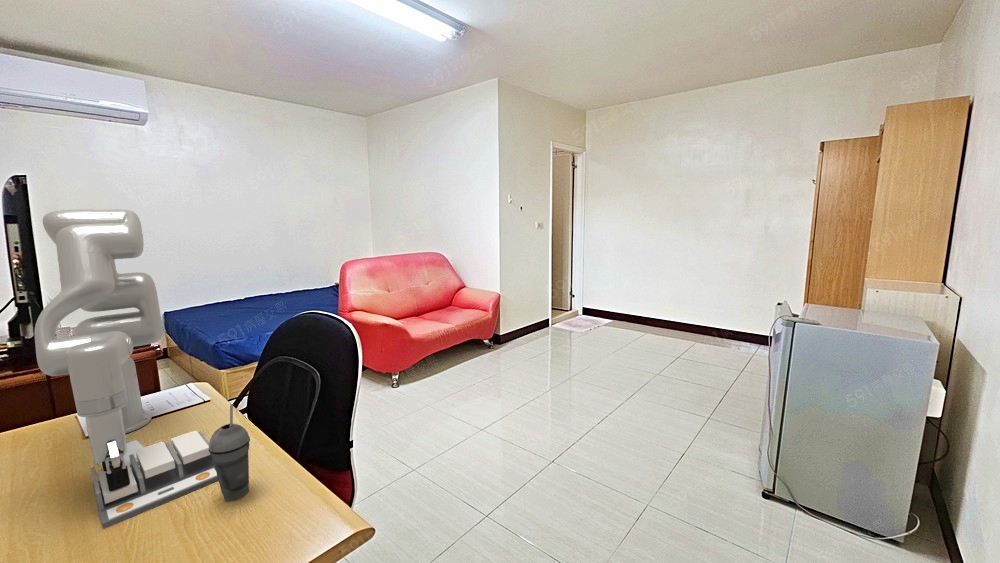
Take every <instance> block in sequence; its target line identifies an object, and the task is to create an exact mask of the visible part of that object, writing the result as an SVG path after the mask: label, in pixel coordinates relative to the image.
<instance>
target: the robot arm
mask: <svg viewBox="0 0 1000 563" xmlns="http://www.w3.org/2000/svg"><path fill="white" fill-rule="evenodd" d="M42 226H43V229H44V230H45V232H46V234H47V235H48V237H49V238H50V239H51V241H52V242H53V243H54V244H55V245H56V253H57V254H56V255H57V262H58V271H59V281H60V292H58V294H57V295H56V296H55V297H54V298H53V299H51V301H49V302H48V304H46V306H45V307H44V308H43V309H42V310H41V312H40V313H39V315H38V317H37V320H36V322H35V326H34V344H35V345H34V346H35V355H36V362H37V366H38V368H39V369H40V370H39V371H41V372H42V373H43V374H45V375H47V376H50V377H51V376H52V377H57V376H64V375H69V379H70V385H71V390H72V393H73V394H72V395H73V399H74V403H75V408H76V412H77V416H78V417H81V418H85V425H86V430H87V435H88V441H89V445H90V446H89V447H90V450H91V455H92V459H93V462H94V463H95V464H96V465H99V464H100V462H102V466H103V469H102V470H103V471H107V473H106V478H107V483H108V488H109V491H114V490H116V489H119V488H122V487H124V486H127V485H129V484H130V479H129V474H128V468H127V466H126V465H125V461H124V457H123V455H125V454H126V453H127V447H126V443H127V438H126V434H128V433H131V432H134V431H136V430H138V429H140V428H143V427H145V426H146V425H148V424H149V423H150V421H151V420H152V414H151V413H150V412H146V411H144V409H143V403H142V398H141V397H142V396H141V392H140V386H139V380H138V375H137V370H136V369H137V368H136V363H135V361H134V359H133V358H132V357H131V356H132V354H133V352H134V347H140V346H146V345H151V344H155V343H157V342H159V341H160V340H162V338H163V335H164V334H163V333H164V329H163V321H162V314H161V310H160V303H159V297H158V292H157V286H156V283H155V281H154V279H153V277H152V276H151V275H150V274H148V273H146V272H126V273H123V272H122V273H119V272H117V266H116V262H115V260H120V259H121V260H123V259H136V258H138V257H140V256H142V254H143V252H144V248H145V247H144V245H145V244H144V235H143V234H144V233H143V228H142V224H141V220H140V217H139V216H138V214H137V213H136V212H134V211H133V210H130V209H129V210H128V209H62V210H54V211H50V212H47V213H46V214H44V216H42ZM133 308H134V309H137V310H138V311H131V312H124V313H123V312H122V313H115V314H106V315H99V316H93V317H89V318H86V319H84V320H82V321H80V322H79V323H78V324H77V325H76V327H75V329H74V335H75V336H69V337H61V338H56V333H57V332H56V331H57V328H58V325H59V324H60V323H61V321H62V320H64V319H65V318H66V317H67V316H68V315H70V314H71V313H73V312H75V311H77V310H79V309H81V310H83V311H85V312H90V313H93V312H94V313H98V312H109V311H117V310H125V309H126V310H127V309H133Z"/></svg>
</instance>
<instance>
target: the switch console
mask: <svg viewBox="0 0 1000 563" xmlns="http://www.w3.org/2000/svg"><path fill="white" fill-rule="evenodd" d="M197 432H198V433H199V434H200V436H201V437H202V438H203V440H204V441H205V442H206V443H207V445H208V446H209V443H210V441H209V440H208V439H207V438H206V437H205V435H204V434H203V433H202V431H197ZM164 443H165V445H166V447H167V449H168V450H169V452H170V454H171V456H172V457H173V459H174V462H175V468H173V469H171V470H168V471H165V472H163V473H160V474H157V475H154V476H152V477H149V478H145V476H144V474H143V471H142V469H141V467H140V465H138V464H137V462H136V459H135V457H134V455H133V454H131V455H129V457H130V463H131V470H132V473H133V476H134V478H135V481H136V483H137V488H138V492H135V493H132V494H130V495H127V496H125V497H122V498H119V499H117V500H114V501H112V502H109V503H106V504H105V501H104V497H103V494H102V490H101V486H100V482H99V479H98V477H97V476H98V475H97V472H96V469H95V466H92V467H90V473H91V478H92V482H93V483H92V486H93V490H94V495H95V499H96V503H97V508H98V512H99V517H100V522H101V526H102V529H103V528H104V529H105V527H106V528H108V527H110V526H114V525H115V524H117V523H120V522H123V521H125V520H127V519H130V518H132V517H134V516H137V515H139V514H142V513H144V512H147V511H149V510H152V509H154V508H157V507H159V506H161V505H164V504H165V503H168V502H171V501H173V500H175V499H177V498H180V497H183V496H185V495H187V494H190V493H193V492H194V491H197V490H200V489H202V488H204V487H207V486H209V485H211V484H214V483H216V482H219V480H218V476H217V472H216V469H215V465H214V461H213V459H212V457H211V455H208V456H205V457H203V458H200V459H197V460H195V461H192V462H189V463H187V464H183V462H182V461H181V459H180V457H179V456H178V454H177V453H176V451H175V449H174V448H173V446H172V444H171V443H170V442H169V441H168V442H164Z"/></svg>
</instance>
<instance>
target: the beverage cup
mask: <svg viewBox="0 0 1000 563" xmlns="http://www.w3.org/2000/svg"><path fill="white" fill-rule="evenodd" d="M250 441H251V437H250V435H249V433H248V431H247V429H246V428H245V427H244V426H242V425H241V424H237V423H234V404H232V403H231V404H230V405H229V423H227V424H224V425H222V426H220V427H219V428H217V429H216V430H215V431H214V433H213V434H212V435H211V437H210V439H209V452H210V455H211V457H212V459H213V461H214V465H215V469H216V472H217V476H218V480H219V481H218V484H219V487H220V491H221V494H222V497H223V500H224V501H226V502H236V501H238V500H241V499H242V498H245V497H246V496H247V494H248V493H249V488H250V486H249V485H250V470H249V450H250Z"/></svg>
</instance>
